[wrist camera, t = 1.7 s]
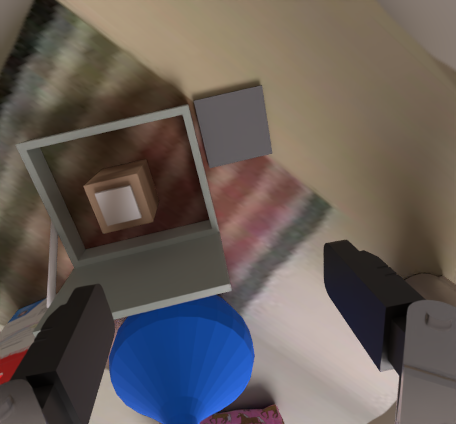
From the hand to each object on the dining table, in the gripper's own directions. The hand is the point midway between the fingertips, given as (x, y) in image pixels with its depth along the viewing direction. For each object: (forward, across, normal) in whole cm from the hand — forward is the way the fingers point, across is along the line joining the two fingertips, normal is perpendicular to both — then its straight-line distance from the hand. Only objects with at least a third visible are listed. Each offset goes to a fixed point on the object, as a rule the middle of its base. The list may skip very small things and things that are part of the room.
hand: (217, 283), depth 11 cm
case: (+29, +9, +4) cm, 30 cm away
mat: (+29, -5, -1) cm, 29 cm away
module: (+29, +9, +4) cm, 30 cm away
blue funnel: (+29, +6, +26) cm, 39 cm away
